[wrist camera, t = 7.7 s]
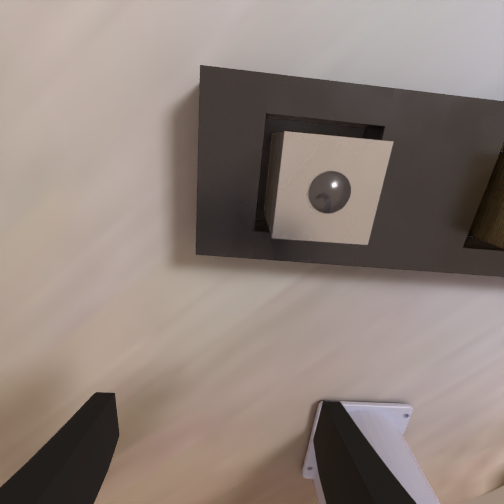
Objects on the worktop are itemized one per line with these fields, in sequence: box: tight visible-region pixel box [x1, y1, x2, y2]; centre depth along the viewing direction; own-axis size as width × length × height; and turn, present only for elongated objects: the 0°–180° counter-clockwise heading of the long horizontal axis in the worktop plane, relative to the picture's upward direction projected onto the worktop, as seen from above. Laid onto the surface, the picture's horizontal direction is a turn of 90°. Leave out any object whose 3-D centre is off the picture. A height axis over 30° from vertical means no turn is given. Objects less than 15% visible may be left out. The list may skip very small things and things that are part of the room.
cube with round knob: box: [264, 131, 393, 245], centre depth 14 cm, size 4×4×5 cm
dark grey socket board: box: [196, 65, 504, 277], centre depth 16 cm, size 9×24×2 cm, turn 85°
